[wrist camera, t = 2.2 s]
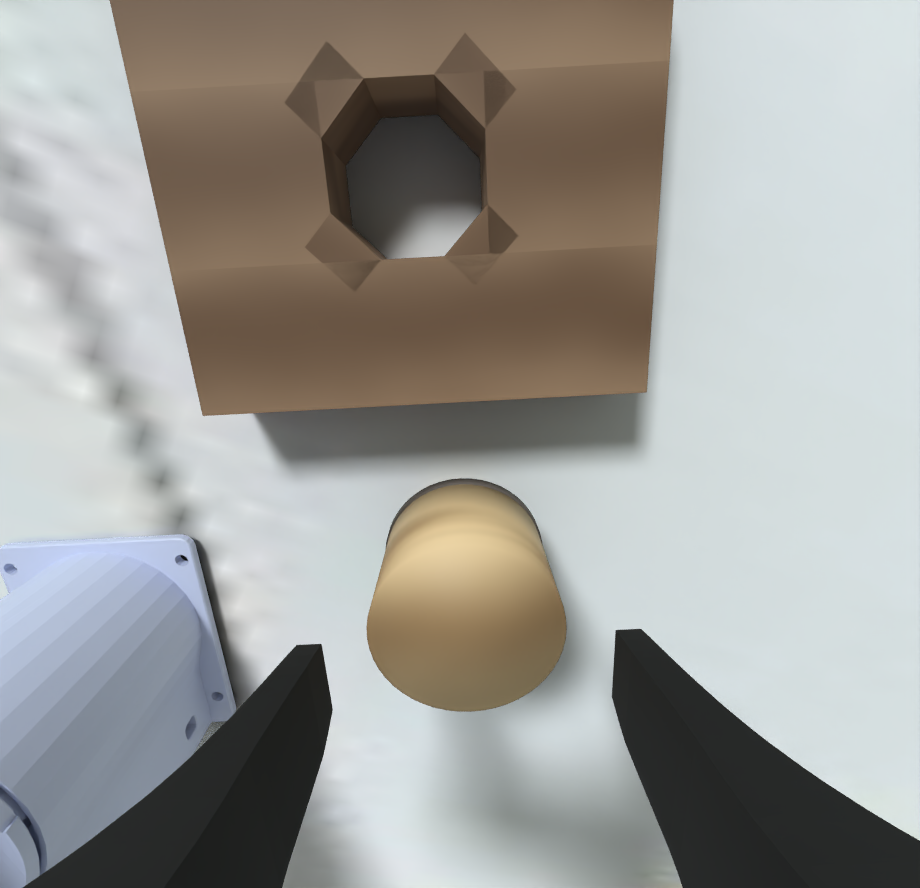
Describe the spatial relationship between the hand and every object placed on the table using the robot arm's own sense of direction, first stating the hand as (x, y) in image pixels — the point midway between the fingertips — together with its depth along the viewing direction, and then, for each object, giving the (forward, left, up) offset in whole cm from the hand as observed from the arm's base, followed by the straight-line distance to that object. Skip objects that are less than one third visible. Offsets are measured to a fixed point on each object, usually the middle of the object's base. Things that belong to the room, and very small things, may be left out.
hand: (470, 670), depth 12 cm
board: (+12, +1, -8) cm, 15 cm away
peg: (0, 0, -8) cm, 8 cm away
